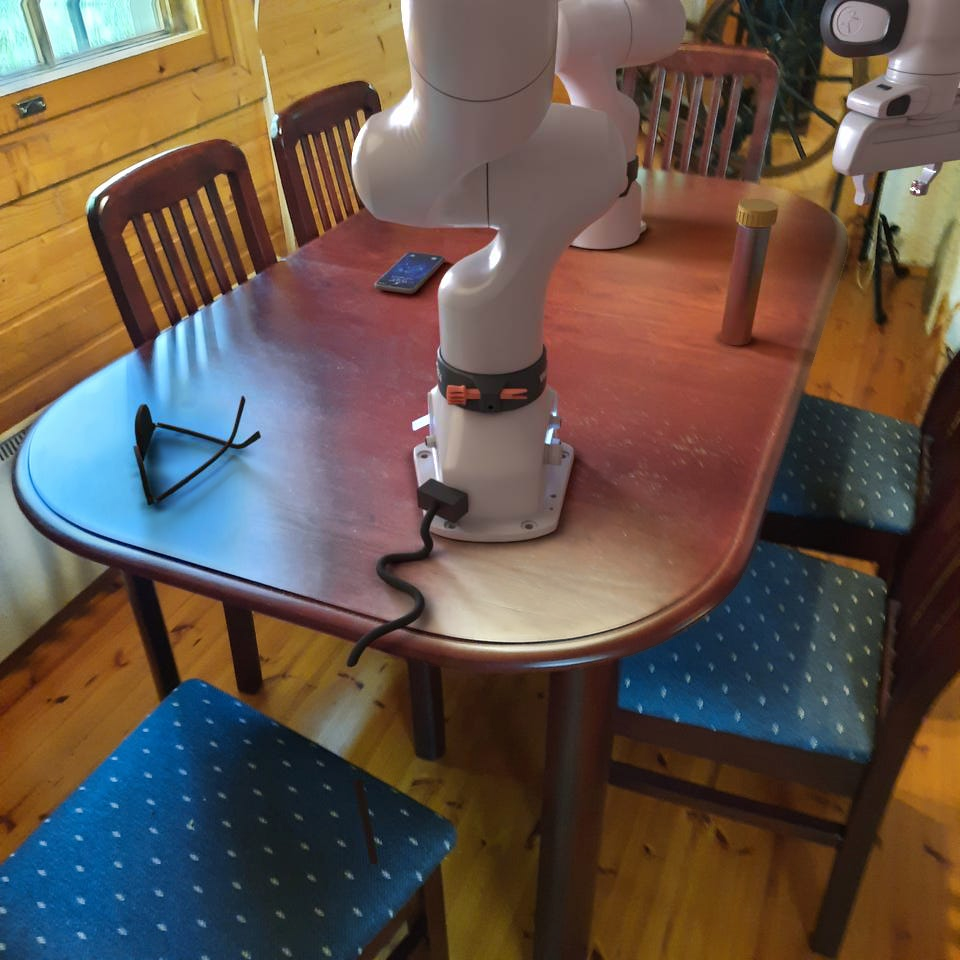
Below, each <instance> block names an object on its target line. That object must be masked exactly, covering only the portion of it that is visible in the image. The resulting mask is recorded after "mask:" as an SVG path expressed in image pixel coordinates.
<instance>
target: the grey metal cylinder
mask: <svg viewBox="0 0 960 960" xmlns="http://www.w3.org/2000/svg"><path fill="white" fill-rule="evenodd" d="M771 231H772V226H769V227H763V228H755V227H748V226H744V225H741V224H740V223H738V224H737V230H736V237H735V243H734V248H733V255H732V260H731V261H732V262H731V268H730V274H729V281H728V285H727V292H726V298H725V305H724V310H723V318H722V322H721V329H720V336H719V338H720V341H721V342H722V343H724V344H727V345H729V346H736V347H742V346H746V345H748V344H749V343H750V342H751V340H752V334H753V328H754V324H755V323H754V322H755V318H756V313H757V306H758V301H759V296H760V292H761V291H760V290H761V285H762V279H763V274H764V269H765V263H766V259H767V254H768V253H767V252H768V247H769V241H770V236H771Z"/></svg>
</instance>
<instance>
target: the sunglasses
mask: <svg viewBox="0 0 960 960" xmlns="http://www.w3.org/2000/svg"><path fill="white" fill-rule="evenodd" d="M245 404H246V398H245V396H244V395H241V396H240V401H239V405H238V408H237V409H238V410H237V413H236V417H235V421H234V425H233V429H232V432H231V435H230V437H229V439H228V440H227V441H226V440H223V439H220V438H217V437H214V436H211V435H208V434H204V433H201V432H198V431H195V430H192V429H188V428H184V427H180V426H176V425H172V424H169V423H164V422H159V421H157V422H153V418H152V414H151V411H150V408H149V406H148V404H146V403H142V404H140V405H139V406H138V409H137V411H136V413H135V418H134V436H135V444H136V445H133V447H132V448H133V452H134V455H135V460H136V463H137V467H138V471H139V475H140V479H141V485H142V489H143V493H144V497H145V500H146V503H147V505H148V506H151V505H154V504H155V501H156V503H157V504H160V503H162V501H164V500H165V499H167V498H168V497H170V496H171V495H172V494H174V493H175V492H177V491H178V490H179V489H181V488H182V487H184V486H185V485H187V484H188V483H189V482H191V481H192V480H193V479H194V478H196V477H197V476H198V475H200V474H202V473H203V472H204V471H205V470H206V469H208V467H210V466H211V465H212V464H213V463H215V462H216V461H217V460H218V459H220V457H222V455H223V454H224V453H225V452H226V451H228V449H229V448H231V449H233V450H242V449H246V448H247V447H249V446H250V445H252V444H254V443H255V442H256V441H258V440H260V439H261V438H262V435H261V432H260V430H256V431H255V432H254V433H253V434H252V435H250V436H249V437H248V438H247V439H246V440H245V441H244V442H241V443H233V442H234V441H235V438H236V435H237V434H238V429H239V426H240V423H241V419H242V415H243V412H244V409H245ZM157 428H160V429H164V430H168V431H172V432H175V433H179V434H183V435H188V436H191V437H195V438H199V439H202V440H205V441H209V442H211V443H215V444H218V445H221V446H223V447H221V449H220V450H219V451H217V452H216V453H215V454H214V455H213V456H212V457H211V458H209V459H208V460H207V461H206V462H204V463H203V464H202V465H200V466H199V467H198V468H196V469H195V470H193V471H192V472H191V473H189V474H188V475H187V476H186V477H184V478H183V479H180V481H178V482H177V483H176V484H174V485H172V486H171V487H169V488H168V489H166V490H165V491H163V492H162V493H161V494H160V495H158V496H157V497H154V495H152V491H151V487H150V484H149V479H148V474H147V470H146V467H145V463H144V461H145V459H146V456H147V453H148V450H149V448H150V445H151V442H152V438H153V435H154V432H155V430H157Z"/></svg>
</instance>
